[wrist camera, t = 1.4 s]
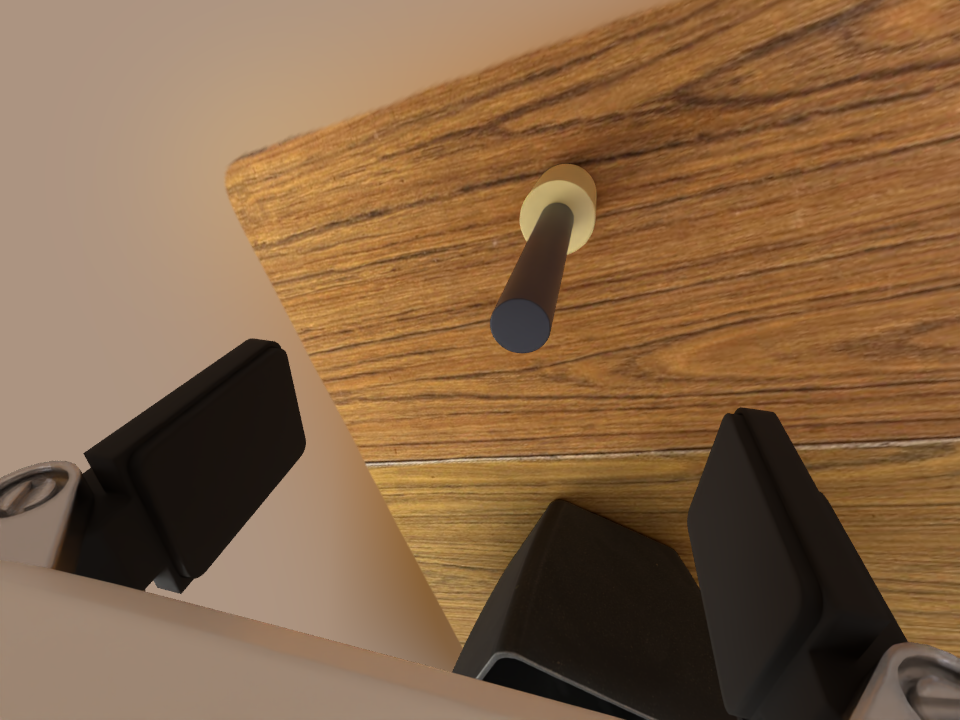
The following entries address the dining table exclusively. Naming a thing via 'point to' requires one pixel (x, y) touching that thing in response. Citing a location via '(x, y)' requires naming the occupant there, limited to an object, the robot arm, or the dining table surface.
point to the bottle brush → (544, 255)
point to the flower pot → (598, 624)
